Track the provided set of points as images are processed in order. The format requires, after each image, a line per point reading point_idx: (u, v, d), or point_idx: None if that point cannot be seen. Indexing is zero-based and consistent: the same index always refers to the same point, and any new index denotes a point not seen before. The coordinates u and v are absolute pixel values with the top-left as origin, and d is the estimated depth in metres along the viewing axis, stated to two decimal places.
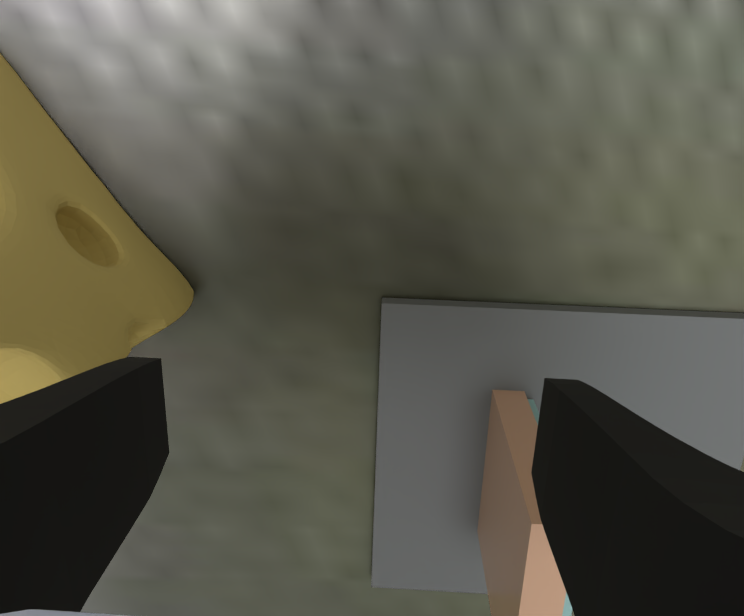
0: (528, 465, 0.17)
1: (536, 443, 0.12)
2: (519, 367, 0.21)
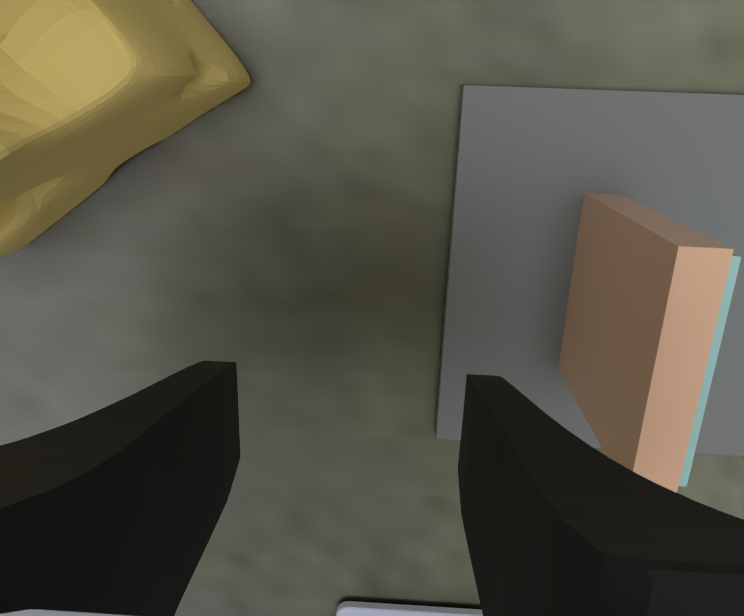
0: (652, 222, 0.15)
1: None
2: (616, 165, 0.19)
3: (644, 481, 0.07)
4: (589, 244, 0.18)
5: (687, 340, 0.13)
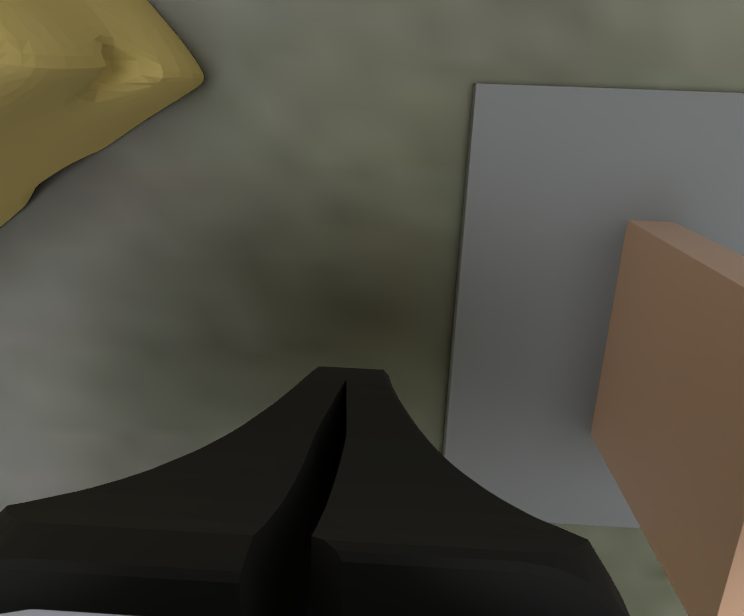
0: (738, 271, 0.11)
1: None
2: (670, 185, 0.15)
3: (451, 470, 0.07)
4: (637, 287, 0.14)
5: None
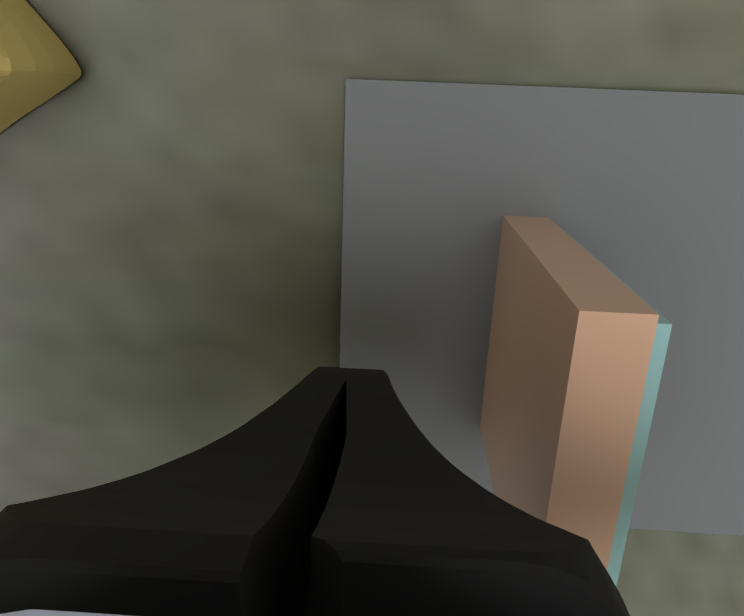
0: (564, 264, 0.11)
1: None
2: (542, 180, 0.15)
3: (452, 470, 0.07)
4: (505, 282, 0.14)
5: (598, 440, 0.09)
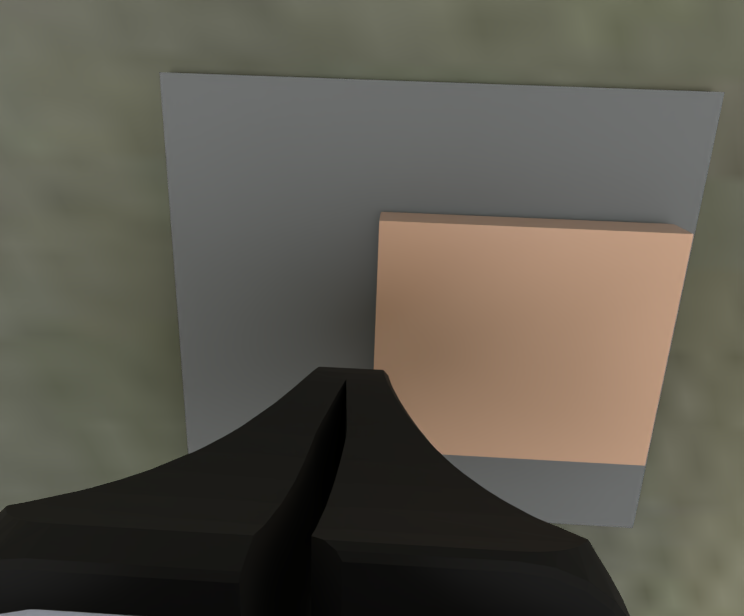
0: (575, 225, 0.14)
1: None
2: (362, 173, 0.15)
3: (452, 470, 0.07)
4: (433, 279, 0.14)
5: None
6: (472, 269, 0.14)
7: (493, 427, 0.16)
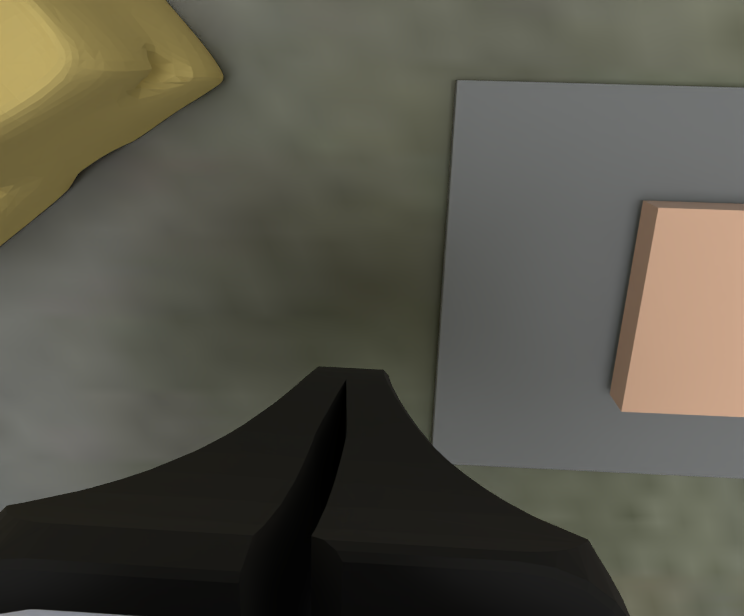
0: None
1: None
2: (626, 166, 0.17)
3: (451, 470, 0.07)
4: (699, 259, 0.17)
5: None
6: (735, 249, 0.16)
7: (734, 389, 0.18)
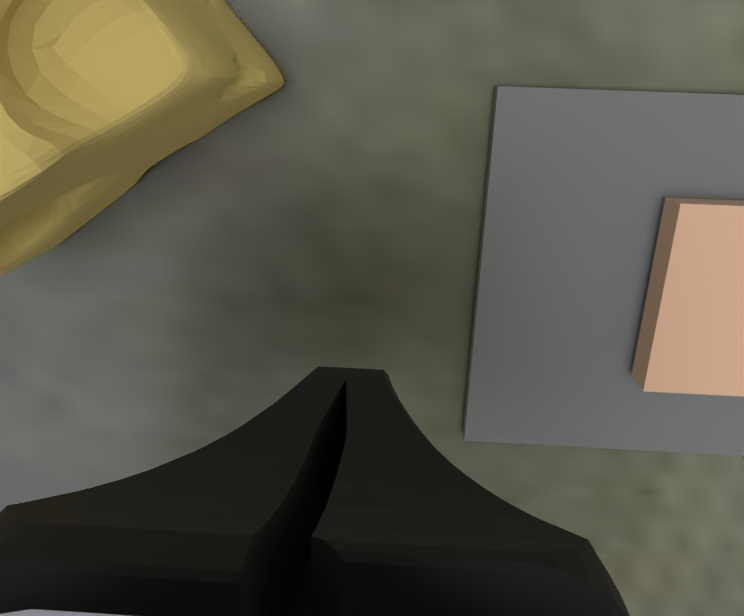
0: None
1: None
2: (650, 166, 0.19)
3: (451, 470, 0.07)
4: (717, 250, 0.18)
5: None
6: None
7: None
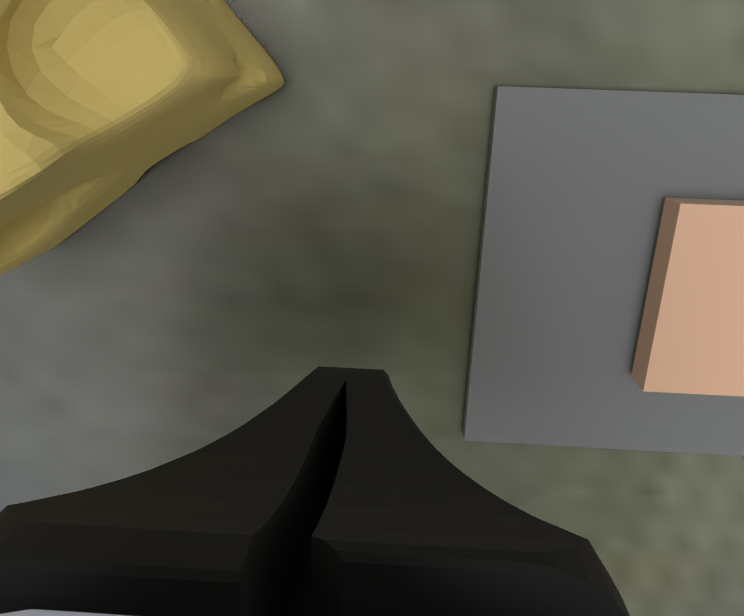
0: None
1: None
2: (650, 166, 0.19)
3: (451, 470, 0.07)
4: (717, 250, 0.18)
5: None
6: None
7: None
